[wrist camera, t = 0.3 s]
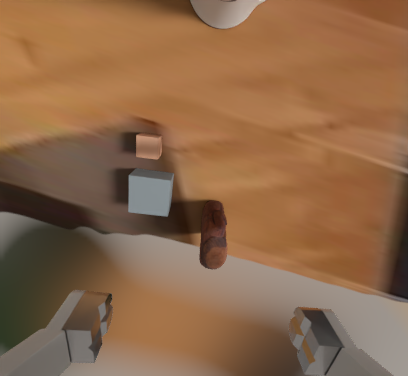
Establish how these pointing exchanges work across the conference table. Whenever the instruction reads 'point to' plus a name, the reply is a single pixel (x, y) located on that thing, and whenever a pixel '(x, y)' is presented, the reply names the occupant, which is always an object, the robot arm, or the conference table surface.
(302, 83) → the conference table surface
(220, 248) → the wooden figurine
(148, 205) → the slate base block
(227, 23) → the robot arm
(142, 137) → the terracotta cube
